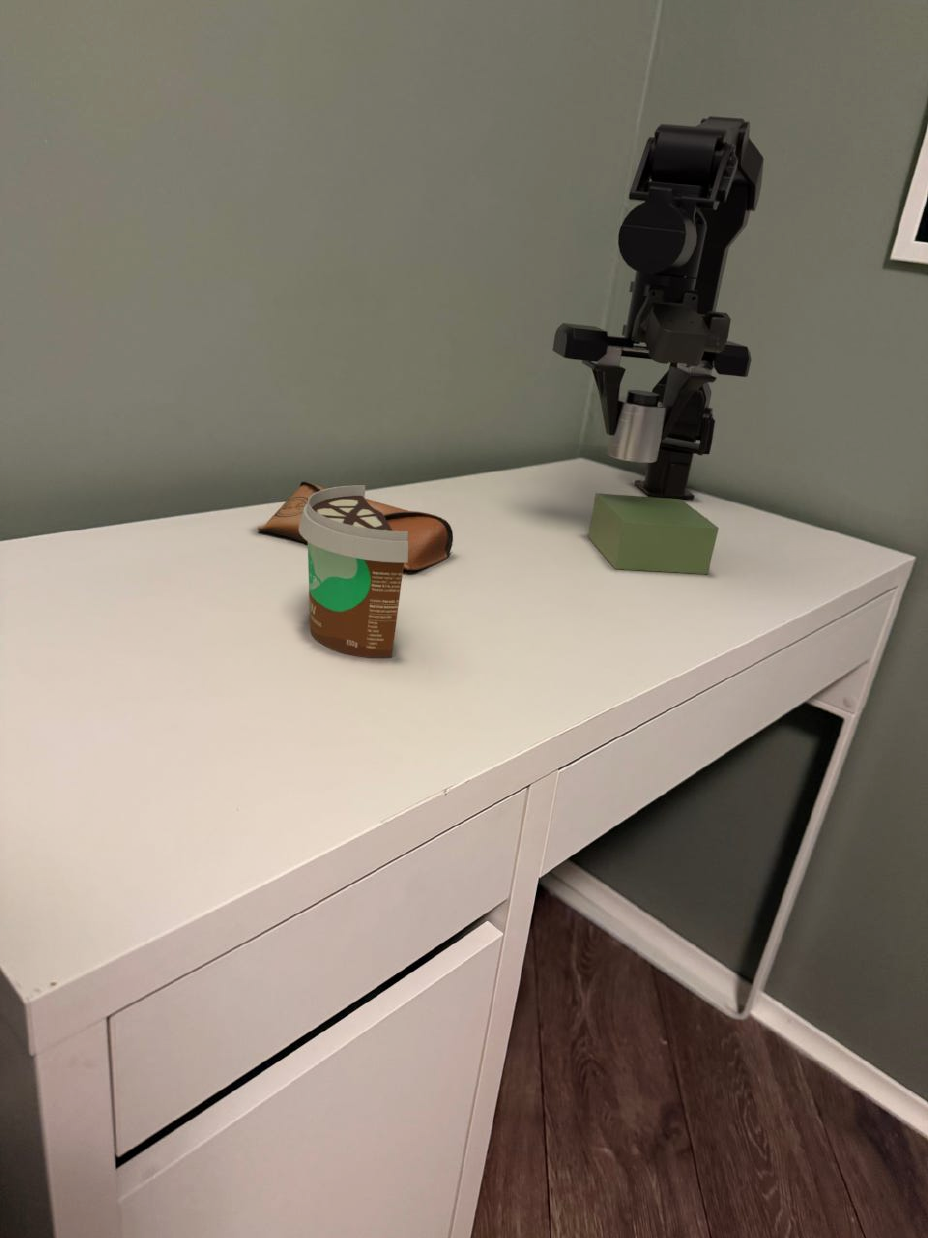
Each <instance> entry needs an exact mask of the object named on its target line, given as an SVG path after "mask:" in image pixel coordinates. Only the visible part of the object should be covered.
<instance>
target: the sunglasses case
mask: <svg viewBox="0 0 928 1238" xmlns="http://www.w3.org/2000/svg"><path fill="white" fill-rule="evenodd" d="M325 489H326V488H324V487H323V486H319V485H317V484H315V483H312V482H310V481H301V482H300V484H299V487H298V488H297V489H296V490H295V491H294V492H293V494H291V495H290V497H289V498H288V499H287V500H286V501H285V502H284V503H283V504H282V505H281V507H279V508H278V510H276V511H275V513H274V514H273V515H272V516H271V517H270V518H269V519H268V521H266V523H265V524H264V525H262V526H258V527H257V530H258V531H262V532H267V533H272V534H276V535H278V536H279V535H280V536H284V537H287V538H290V539H294V540H296V541H299V542H302V543H306V544H308V541H307V540H305V539H304V538H303V537H302V536H301V534H300V532H299V530H298V529H299V524H300V520H301V516H302V513H303V509H304V507H305V505H306V504H307V503H308V499H309V498H310V496H311V495H313V494H314V493H316V492H319V491H321V490H325ZM365 500H366V501H367V502H368V503H369V504H370V505H371V507H373V508H374V509H376V510H378V511H380V512H381V513H382V514H383V515H384V517H385V518H386V520H387V522H388V524H389V526H390V527H391V529H392V530H393V531H408V536H407V541H408V563H404V568H403V570H405V571H415V572H416V571H419V570H423V569H427V568H430V567H432V566H434V565H436V564H438V563H440V562H442V561H444V560H446V559H447V558H449V555H450V553H451V551H452V547H453V543H454V532H453V529H452V526H451V525H450V523H449V522H448V521H447V520H446V519H444V518H442V517H440V516H438V515H435V514H431V513H428V512H424V511H414V510H407V509H403V508H400V507H397V506H394V505H390V504H387V503H384V502H383V503H382V502H380V501H379V502H378V501H376V500H372V499H369V498H365Z"/></svg>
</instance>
